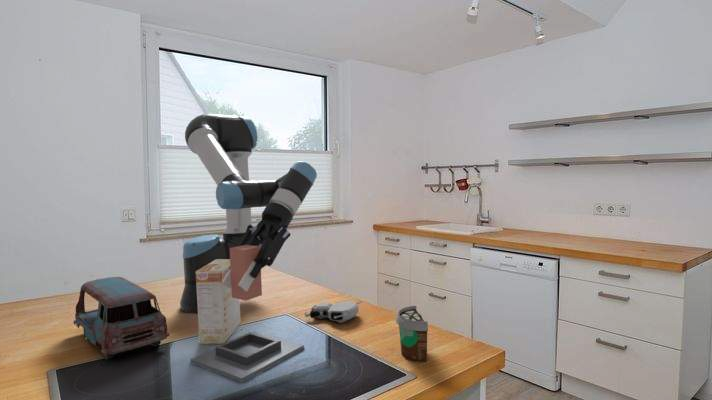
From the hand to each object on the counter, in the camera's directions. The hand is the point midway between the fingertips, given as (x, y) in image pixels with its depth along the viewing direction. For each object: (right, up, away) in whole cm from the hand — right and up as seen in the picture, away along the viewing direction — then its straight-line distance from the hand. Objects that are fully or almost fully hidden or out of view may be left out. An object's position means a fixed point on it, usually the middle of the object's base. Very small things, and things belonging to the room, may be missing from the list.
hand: (234, 286), depth 99 cm
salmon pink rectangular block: (+2, -3, +3) cm, 5 cm away
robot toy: (+22, -16, +30) cm, 40 cm away
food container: (+41, -17, +3) cm, 45 cm away
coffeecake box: (-9, -17, +19) cm, 28 cm away
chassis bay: (+2, -18, +4) cm, 19 cm away
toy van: (-35, -18, +15) cm, 42 cm away
